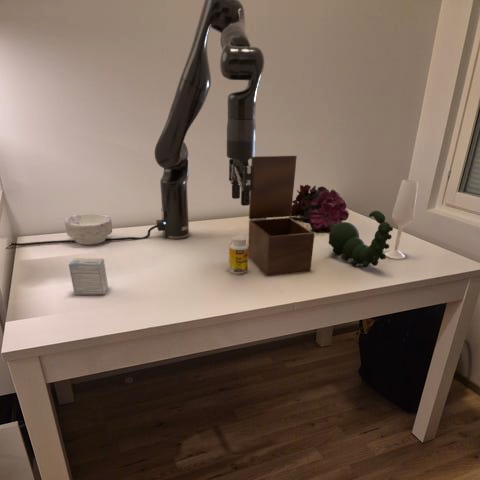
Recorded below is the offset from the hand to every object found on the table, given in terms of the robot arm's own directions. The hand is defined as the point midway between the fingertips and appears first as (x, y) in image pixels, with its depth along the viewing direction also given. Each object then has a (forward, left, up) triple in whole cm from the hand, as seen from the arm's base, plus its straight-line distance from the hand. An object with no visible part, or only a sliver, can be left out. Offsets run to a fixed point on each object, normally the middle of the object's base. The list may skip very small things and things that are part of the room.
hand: (240, 201), depth 116 cm
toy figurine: (+38, -1, -21) cm, 43 cm away
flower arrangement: (+48, +42, -21) cm, 67 cm away
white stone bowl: (-42, +40, -21) cm, 62 cm away
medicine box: (-42, -4, -21) cm, 47 cm away
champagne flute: (+55, 0, -21) cm, 59 cm away
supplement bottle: (0, 0, -21) cm, 21 cm away
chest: (+14, +3, -21) cm, 25 cm away
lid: (+14, +11, +1) cm, 18 cm away
